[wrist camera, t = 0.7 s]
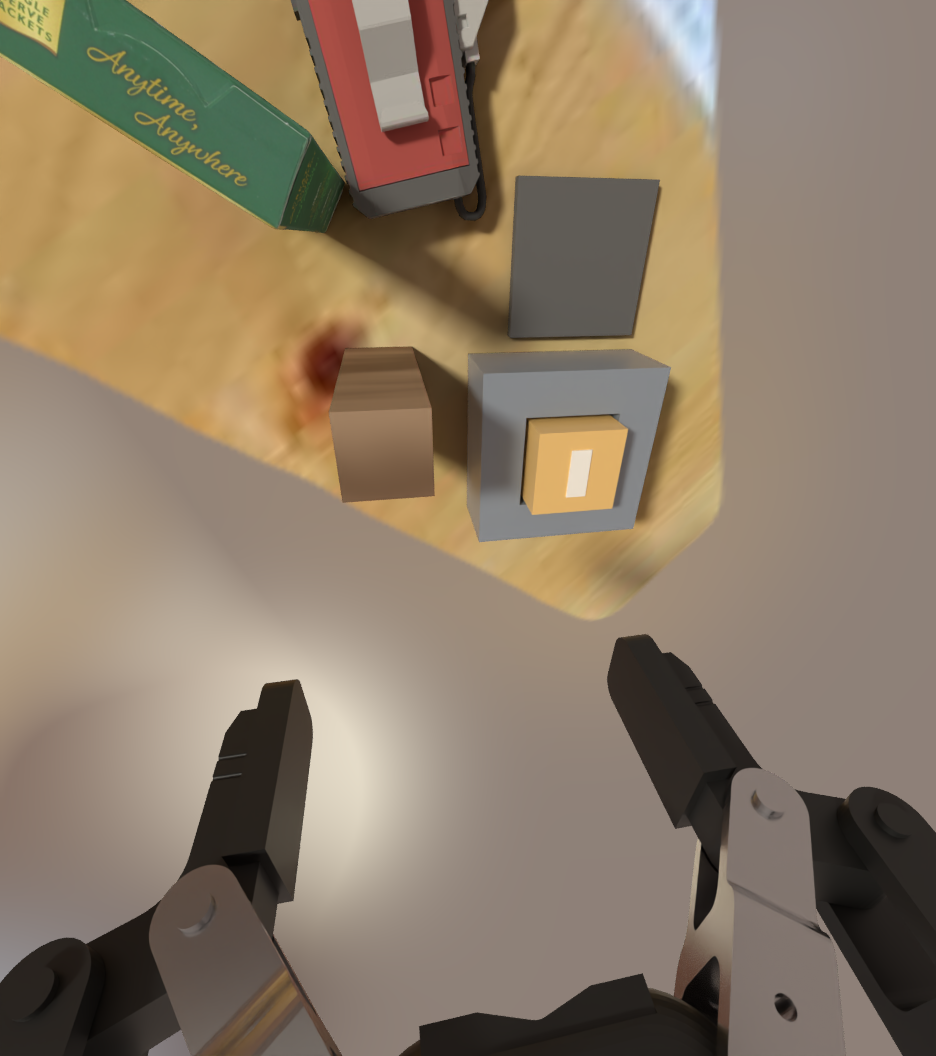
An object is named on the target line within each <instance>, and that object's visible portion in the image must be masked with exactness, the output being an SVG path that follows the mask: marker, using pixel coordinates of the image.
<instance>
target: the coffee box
mask: <svg viewBox="0 0 936 1056" xmlns="http://www.w3.org/2000/svg"><path fill="white" fill-rule="evenodd" d="M0 56H1V57H2V58H4V59H5V60H7V61H9V62H10V63H12V64H13V65H15V66H16V67H18V68H20V69H21V70H23V71H24V72H26V73H27V74H29V75H30V76H32V77H34V78H35V79H37V80H38V81H40V82H41V83H43V84H45V85H46V86H48V87H49V88H51V89H52V90H54V91H56V92H57V93H59V94H60V95H62V96H64V97H65V98H67V99H68V100H70V101H71V102H73V103H75V104H76V105H78V106H79V107H81V108H82V109H84V110H85V111H87V112H89V113H90V114H92V115H93V116H95V117H96V118H98V119H100V120H101V121H103V122H104V123H106V124H107V125H109V126H110V127H112V128H114V129H115V130H117V131H118V132H120V133H121V134H123V135H124V136H126V137H128V138H129V139H131V140H132V141H134V142H135V143H137V144H139V145H140V146H142V147H143V148H145V149H146V150H148V151H149V152H151V153H153V154H154V155H156V156H157V157H159V158H160V159H162V160H164V161H165V162H167V163H168V164H170V165H172V166H173V167H175V168H176V169H178V170H180V171H181V172H183V173H184V174H186V175H188V176H189V177H191V178H192V179H194V180H196V181H197V182H199V183H200V184H202V185H204V186H205V187H207V188H209V189H210V190H212V191H213V192H215V193H216V194H218V195H220V196H221V197H223V198H224V199H226V200H228V201H229V202H231V203H233V204H234V205H236V206H237V207H239V208H241V209H242V210H244V211H246V212H247V213H249V214H250V215H252V216H254V217H255V218H257V219H259V220H260V221H262V222H264V223H265V224H267V225H268V226H270V227H272V228H274V229H280V230H284V229H289V230H300V231H301V230H302V231H312V232H321V233H325V232H326V231H327V228H328V226H329V223H330V221H331V218H332V216H333V213H334V211H335V209H336V206H337V204H338V201H339V199H340V196H341V194H342V190H343V187H344V185H345V183H344V181H343V180H342V178H341V177H340V175H339V174H338V172H337V171H336V170H335V169H334V167H333V166H332V165H331V163H330V162H329V160H328V159H327V157H326V156H325V154H324V153H323V151H322V150H321V149H320V147H319V146H318V144H317V143H316V141H315V140H314V138H313V137H312V135H311V134H310V133H309V132H308V131H307V130H306V129H304V128H303V127H302V126H300V125H299V124H298V123H296V122H295V121H294V120H292V119H291V118H289V117H288V116H286V115H285V114H283V113H282V112H281V111H279V110H278V109H277V108H275V107H274V106H273V105H271V104H270V103H269V102H267V101H266V100H265V99H263V98H262V97H260V96H259V95H258V94H256V93H255V92H253V91H252V90H250V89H249V88H248V87H246V86H245V85H243V84H242V83H241V82H239V81H238V80H236V79H235V78H234V77H232V76H231V75H229V74H228V73H226V72H225V71H224V70H222V69H221V68H220V67H218V66H217V65H215V64H214V63H213V62H211V61H210V60H208V59H207V58H206V57H204V56H203V55H201V54H200V53H199V52H197V51H196V50H195V49H193V48H192V47H191V46H189V45H188V44H186V43H185V42H183V41H182V40H181V39H179V38H178V37H176V36H175V35H174V34H172V33H171V32H169V31H168V30H167V29H165V28H164V27H163V26H161V25H160V24H159V23H157V22H156V21H155V20H154V19H152V18H151V17H149V16H147V15H146V14H144V13H143V12H142V11H140V10H139V9H138V8H136V7H135V6H133V5H132V4H131V3H129V2H128V1H126V0H0Z"/></svg>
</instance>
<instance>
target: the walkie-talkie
mask: <svg viewBox="0 0 936 1056" xmlns="http://www.w3.org/2000/svg"><path fill="white" fill-rule="evenodd" d="M488 1H489V0H291V3H292V6H293V10H294V13H295V16H296V18H297V21H298V20H301V23H302V26H303V30H304V33H305V37H306V40H307V43H308V45H309V48H310V50H309V51H310V54H311V57H312V60H313V63H314V66H315V67H314V69H315V72H316V75H317V78H318V81H319V83H320V84H319V87H320V90H321V93H322V95H323V98H324V104H325V107H326V110H327V112H328V115H329V116H328V119H329V122H330V124H331V127H332V129H333V132H332V133H333V136H334V139H335V141H336V144H337V145H338V147H337V151H338V153H339V156H340V158H342V161H341V165H342V168H343V170H344V171H345V172H346V176H345V179H346V182H347V184H348V185H349V186H350V189H349V194H350V195H351V197H353V201H354V203H353V204H352V205H353V206H354V207H355V208H356V209H357V210H359V211H360V212H361V213H362V214H364V215H365V216H366V217H368V218H369V219H373V218H377V217H381V216H385V215H389V214H394V213H398V212H402V211H406V210H410V209H414V208H418V207H422V206H426V205H431V204H435V203H439V202H443V201H447V200H451V199H454V202H455V207H456V210H457V212H458V214H459V216H460V217H461V218H463V219H464V220H470V221H476V220H477V219H479V218H481V216H482V215H483V213H484V211H485V207H486V190H485V183H484V176H483V170H482V163H481V156H480V149H479V142H478V135H477V128H476V121H475V114H474V105H473V97H472V92H473V85H474V81H475V66H476V64H477V63H478V61H479V59H480V57H479V49H478V42H477V33H478V30H479V27H480V24H481V22H482V19H483V16H484V13H485V10H486V7H487V4H488ZM464 69H466V80H465V82H464V76H463V75H464V73H465V70H464ZM330 114H331V115H330ZM475 184H476V187H477V193H478V204H477V208H476V211H474V212H468V211H466V210H465V207H464V205H463V201H462V197H463V196H466V195H468V194H471V193H472V190H473V188H474V186H475Z"/></svg>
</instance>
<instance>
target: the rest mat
mask: <svg viewBox="0 0 936 1056" xmlns="http://www.w3.org/2000/svg"><path fill="white" fill-rule="evenodd" d="M659 182H660V180H649V179H615V178H580V177H546V176H517V177H516V182H515V202H514V221H513V241H512V260H511V280H510V300H509V319H508V337H510V338H521V337H565V336H609V335H631V334H632V329H633V323H634V318H635V312H636V307H637V301H638V296H639V291H640V285H641V280H642V274H643V269H644V263H645V258H646V252H647V247H648V242H649V236H650V231H651V225H652V220H653V214H654V209H655V204H656V198H657V193H658V187H659Z"/></svg>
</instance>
